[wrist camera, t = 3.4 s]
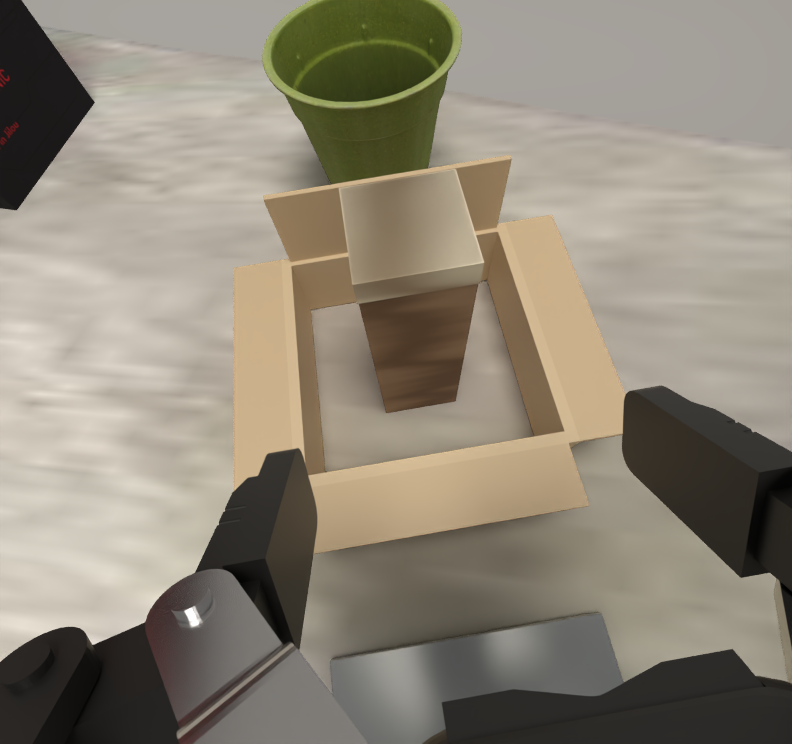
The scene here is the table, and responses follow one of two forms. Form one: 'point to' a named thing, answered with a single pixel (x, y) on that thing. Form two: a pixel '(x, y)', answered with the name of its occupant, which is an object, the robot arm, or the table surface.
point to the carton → (441, 472)
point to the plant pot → (365, 80)
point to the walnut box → (413, 282)
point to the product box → (32, 103)
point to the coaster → (470, 674)
